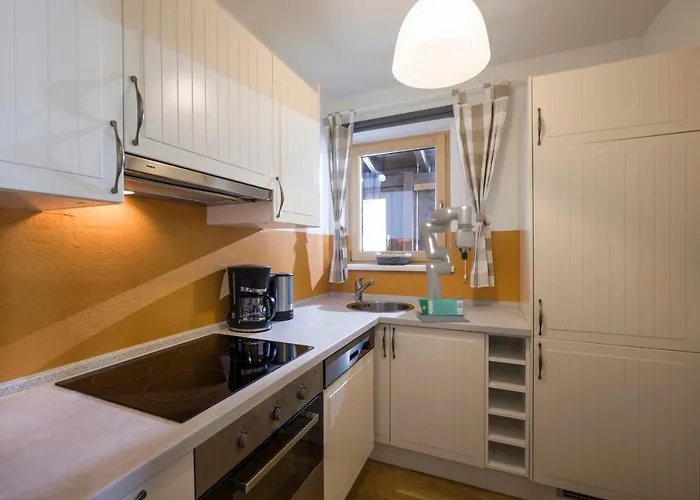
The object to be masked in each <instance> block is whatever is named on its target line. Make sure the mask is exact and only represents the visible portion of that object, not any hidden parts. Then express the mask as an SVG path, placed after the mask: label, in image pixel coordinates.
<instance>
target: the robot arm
mask: <svg viewBox="0 0 700 500" xmlns="http://www.w3.org/2000/svg"><path fill="white" fill-rule="evenodd" d="M430 218H431V220H426V221H423V222H422V223H421V224H420V233H421V237H422V239H423V243H424V248H425V250H424V251H425V254H426V255H425V256H426V258H427V259H428V260H430V261H428V262H427V263H426V264H425V271H426V283H427V284H426V285H427V286H426V287H427V289H426V290H427V291H426V292H427V295H426V296H427V298H426V299H443V297H442V294H443V293H442V292H443V291H442V288H443V287H442V284H443V283H442V279H441V278H440V277H439V276H447V275H448V276H449V275H450V274H451V273H452V269H453V266H452V260H451V256H450V250H449V248H448V247H447V246H443V245H441V246H440V245H438V241H437V239H436V237H435V236H434V235H433V234H444V233H445V232H447V230H448V228H449V227H450V225H451V223H452V222H453V221H457V229H456V230H455V235H454V249H455V250H456V251H459V252H460V254H461V256H460V258H461V260H462V261H467V260H468V253H469V252H470V251H472V250H475V234H474V230H473V229H474V228H475V226H474V225H473V224H472V223H473V222H472V207H471V206H470V205H460V206H458V207H455V206H454V207H453V206H451V207H450V206H445V207H441V208H435V209H433V211H431V213H430Z"/></svg>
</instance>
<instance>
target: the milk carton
mask: <svg viewBox="0 0 700 500" xmlns="http://www.w3.org/2000/svg"><path fill="white" fill-rule="evenodd" d="M417 300H418V301H417V302H418V305H419V306H418V311H419V314H421V315H460V316H464V300H463V299H461V298H442V299H427V298H418V299H417Z"/></svg>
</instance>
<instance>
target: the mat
mask: <svg viewBox="0 0 700 500" xmlns="http://www.w3.org/2000/svg"><path fill="white" fill-rule="evenodd" d="M416 316H417V317H418V319H419V320H420V321H421V322H422V323H470V320H469V319H467V318H465V317H463V315H423V314H421V315H419V314H416ZM416 316H415V317H416ZM417 317H416V318H417Z"/></svg>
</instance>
